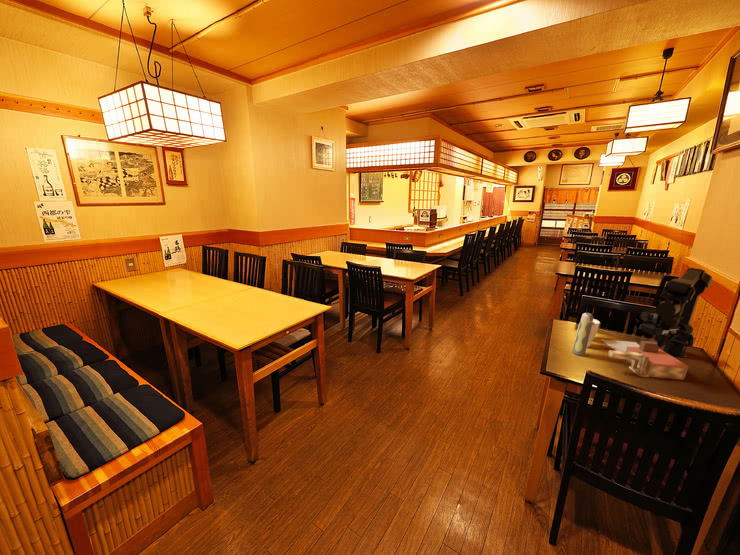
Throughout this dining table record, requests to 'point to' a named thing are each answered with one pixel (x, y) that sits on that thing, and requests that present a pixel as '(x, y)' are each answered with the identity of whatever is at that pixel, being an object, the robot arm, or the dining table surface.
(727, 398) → the dining table surface
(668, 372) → the toolbox
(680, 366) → the lid
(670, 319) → the robot arm
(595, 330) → the white cup
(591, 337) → the can
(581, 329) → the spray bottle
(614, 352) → the tan wooden bar
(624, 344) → the mat
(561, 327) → the dining table surface
